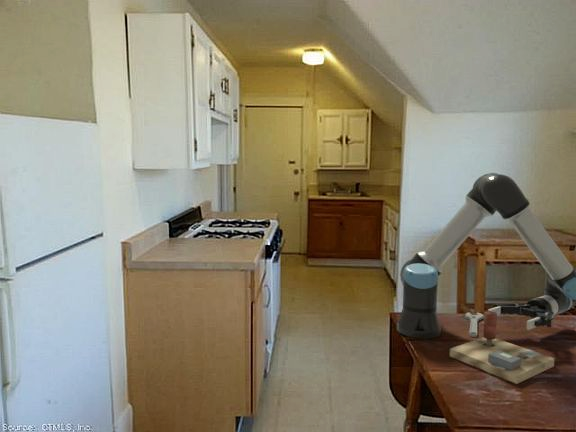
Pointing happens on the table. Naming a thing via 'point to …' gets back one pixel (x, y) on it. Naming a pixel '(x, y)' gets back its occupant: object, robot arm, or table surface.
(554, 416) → the table surface
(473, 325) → the adjustable wrench
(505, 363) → the block
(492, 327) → the awl
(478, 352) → the board
